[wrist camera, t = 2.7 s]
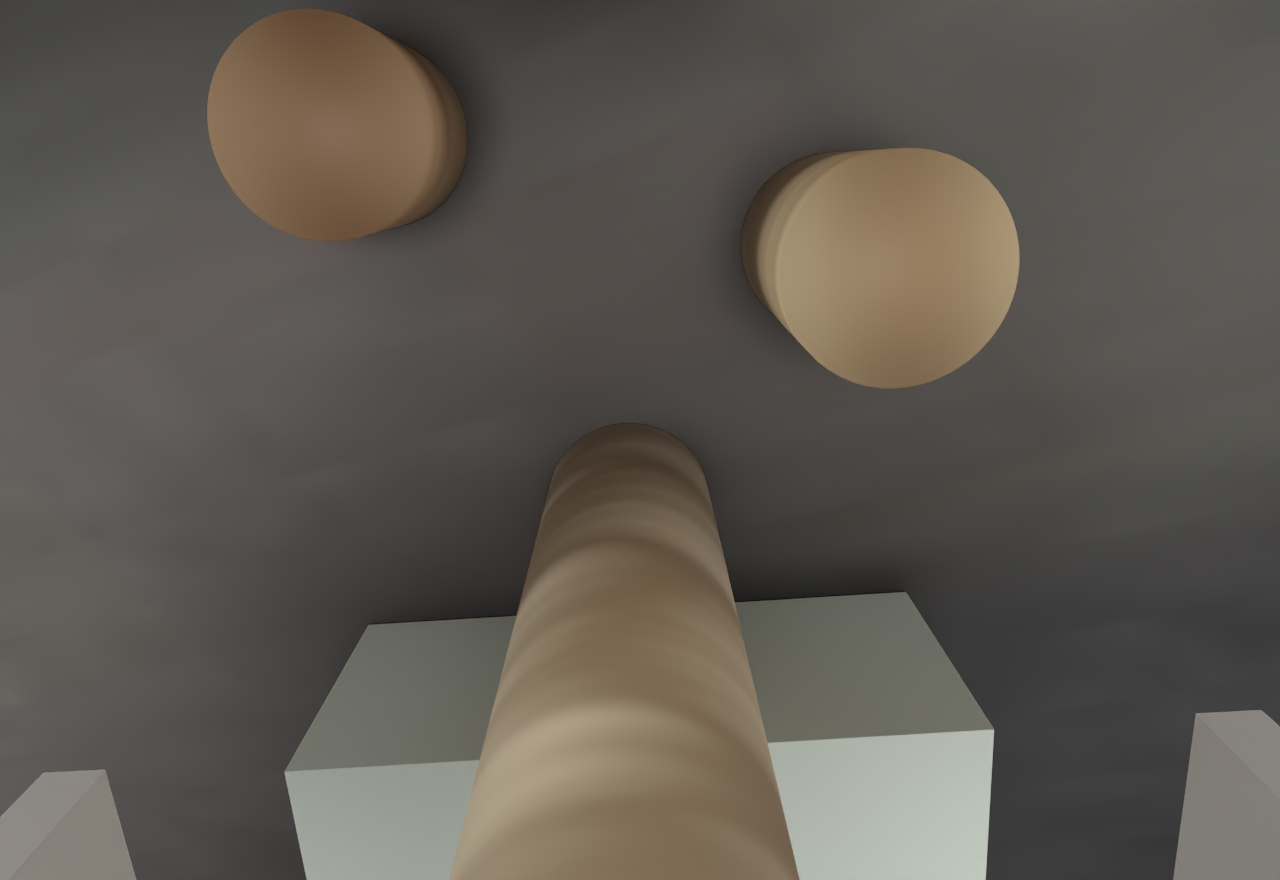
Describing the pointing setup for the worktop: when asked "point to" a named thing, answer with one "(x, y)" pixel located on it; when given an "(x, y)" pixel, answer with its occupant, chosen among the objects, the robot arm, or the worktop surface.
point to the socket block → (792, 718)
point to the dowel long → (626, 690)
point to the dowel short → (333, 126)
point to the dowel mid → (883, 261)
